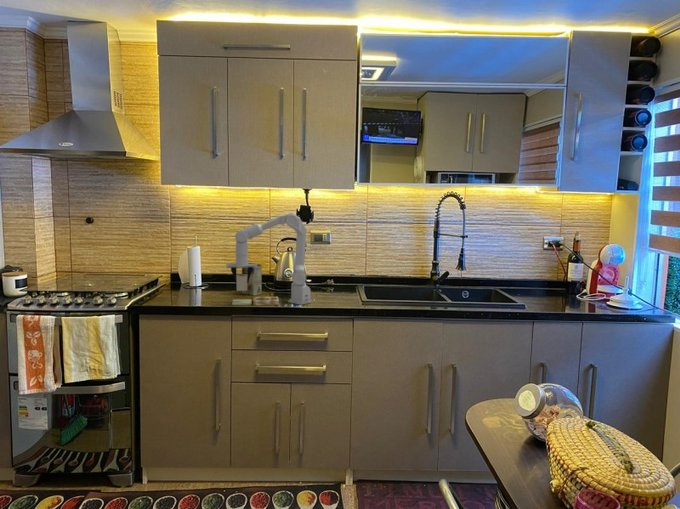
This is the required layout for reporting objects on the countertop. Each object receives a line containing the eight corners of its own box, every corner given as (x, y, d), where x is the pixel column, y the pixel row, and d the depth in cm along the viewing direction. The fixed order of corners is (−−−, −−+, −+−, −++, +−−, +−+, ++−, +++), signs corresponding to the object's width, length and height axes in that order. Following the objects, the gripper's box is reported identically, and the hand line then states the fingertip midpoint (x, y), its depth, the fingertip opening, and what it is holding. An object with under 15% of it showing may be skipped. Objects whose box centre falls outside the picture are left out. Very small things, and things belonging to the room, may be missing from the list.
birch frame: (277, 300, 236) (277, 296, 236) (278, 304, 227) (278, 300, 226) (253, 301, 234) (253, 296, 234) (253, 305, 225) (253, 301, 224)
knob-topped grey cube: (247, 288, 232) (247, 273, 231) (247, 290, 227) (247, 275, 226) (236, 288, 231) (236, 273, 230) (236, 290, 226) (236, 275, 225)
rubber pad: (251, 300, 235) (251, 299, 235) (251, 304, 226) (251, 303, 226) (233, 301, 233) (233, 299, 233) (232, 305, 224) (232, 303, 224)
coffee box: (241, 293, 253) (241, 263, 251) (249, 291, 258) (249, 262, 256) (253, 295, 247) (253, 265, 246) (262, 293, 253) (262, 264, 251)
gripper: (225, 256, 222) (226, 284, 223) (257, 256, 224) (257, 284, 226) (226, 254, 228) (226, 282, 230) (257, 254, 231) (257, 281, 233)
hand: (241, 282), depth 228 cm, fingers closed on knob-topped grey cube, 5 cm apart
